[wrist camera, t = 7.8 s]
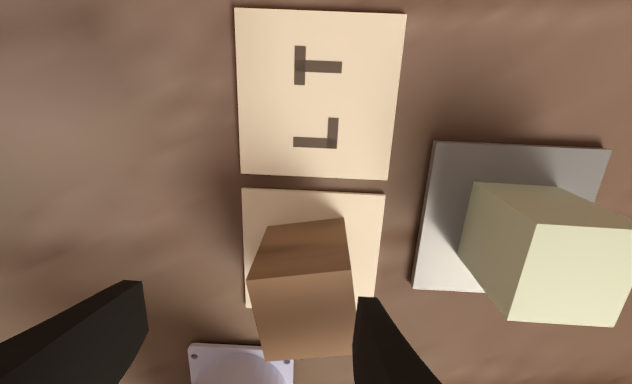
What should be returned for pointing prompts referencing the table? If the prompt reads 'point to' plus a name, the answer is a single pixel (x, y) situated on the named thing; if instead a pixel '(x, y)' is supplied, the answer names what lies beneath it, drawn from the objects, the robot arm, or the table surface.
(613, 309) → the sage block
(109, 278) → the table surface
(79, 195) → the table surface
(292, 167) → the tile
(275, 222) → the plain tile
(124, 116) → the table surface
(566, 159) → the light grey square plate
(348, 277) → the walnut block
